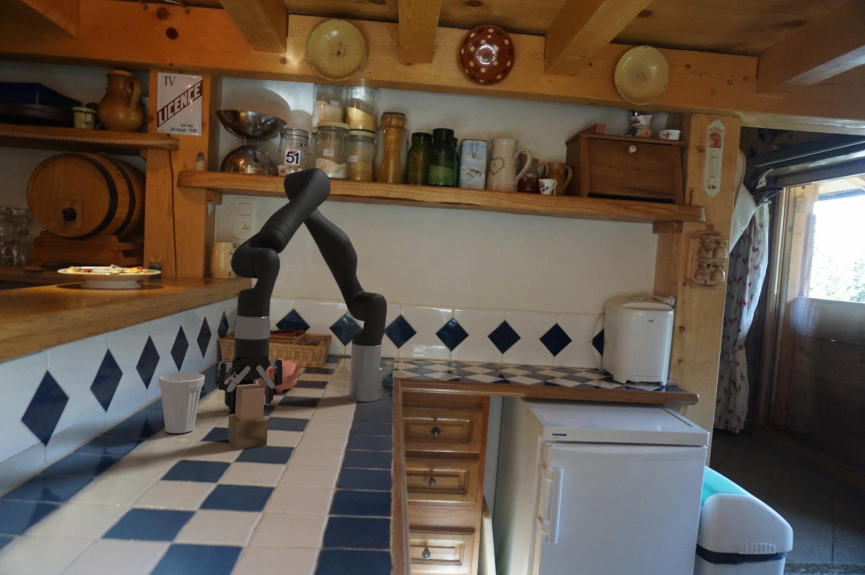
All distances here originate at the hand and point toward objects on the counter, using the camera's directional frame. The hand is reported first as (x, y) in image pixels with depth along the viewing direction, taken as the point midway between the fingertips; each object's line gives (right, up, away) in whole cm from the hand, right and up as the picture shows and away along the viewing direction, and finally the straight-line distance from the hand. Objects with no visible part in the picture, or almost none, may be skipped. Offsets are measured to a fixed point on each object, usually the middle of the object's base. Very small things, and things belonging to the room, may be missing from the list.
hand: (249, 405), depth 119 cm
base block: (-1, -9, 0) cm, 9 cm away
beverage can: (-10, -7, +23) cm, 26 cm away
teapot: (-8, -6, +48) cm, 49 cm away
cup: (-18, -7, +5) cm, 20 cm away
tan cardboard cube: (0, -3, 0) cm, 3 cm away
